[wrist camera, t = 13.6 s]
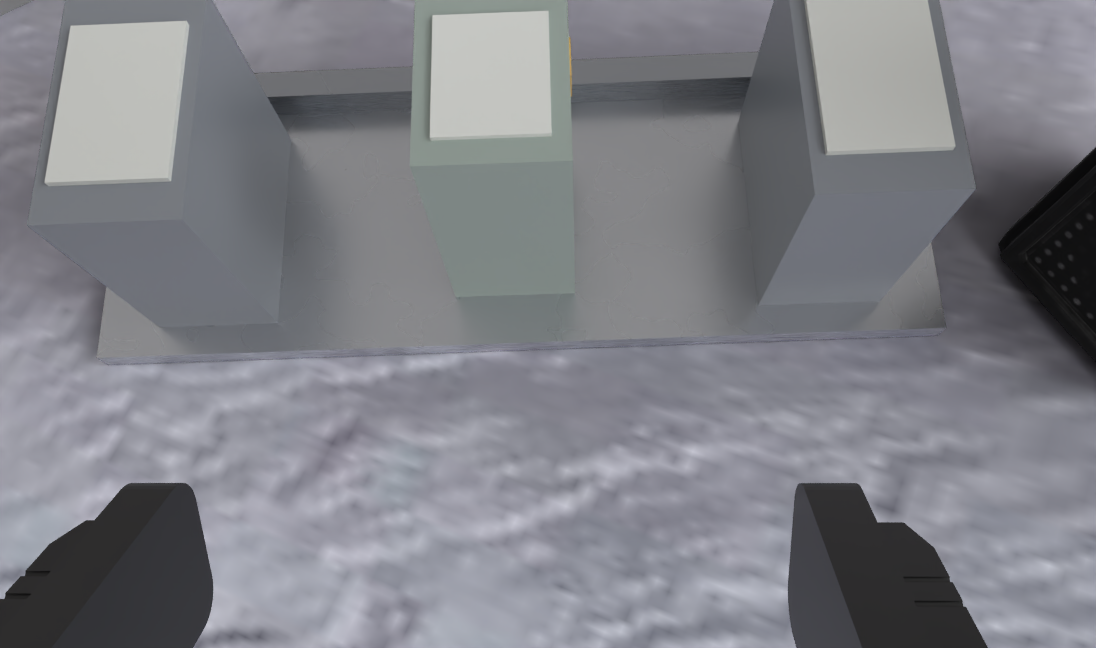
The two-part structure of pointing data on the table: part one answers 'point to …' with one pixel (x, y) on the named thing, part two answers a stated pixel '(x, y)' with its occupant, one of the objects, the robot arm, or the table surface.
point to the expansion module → (495, 142)
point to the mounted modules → (264, 145)
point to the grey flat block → (11, 5)
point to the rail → (599, 232)
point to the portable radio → (1061, 252)
